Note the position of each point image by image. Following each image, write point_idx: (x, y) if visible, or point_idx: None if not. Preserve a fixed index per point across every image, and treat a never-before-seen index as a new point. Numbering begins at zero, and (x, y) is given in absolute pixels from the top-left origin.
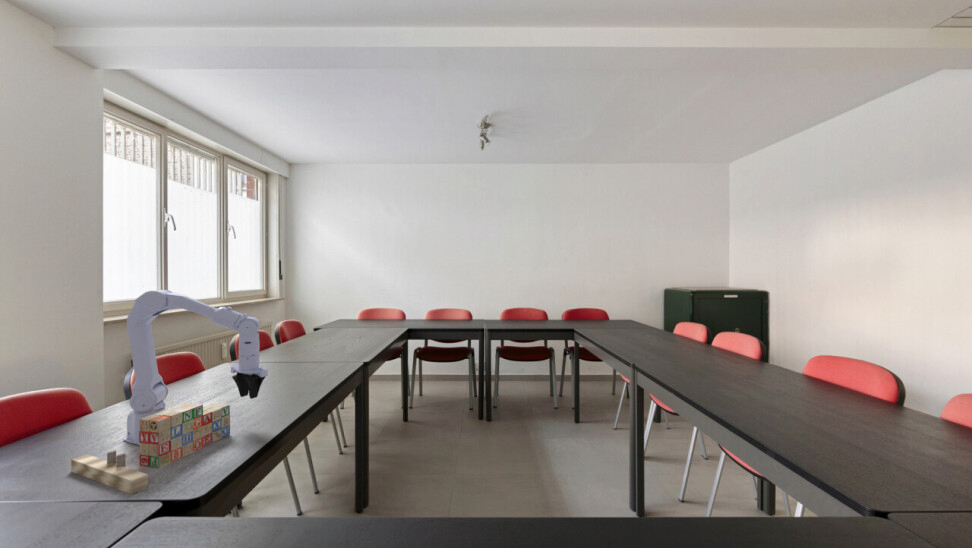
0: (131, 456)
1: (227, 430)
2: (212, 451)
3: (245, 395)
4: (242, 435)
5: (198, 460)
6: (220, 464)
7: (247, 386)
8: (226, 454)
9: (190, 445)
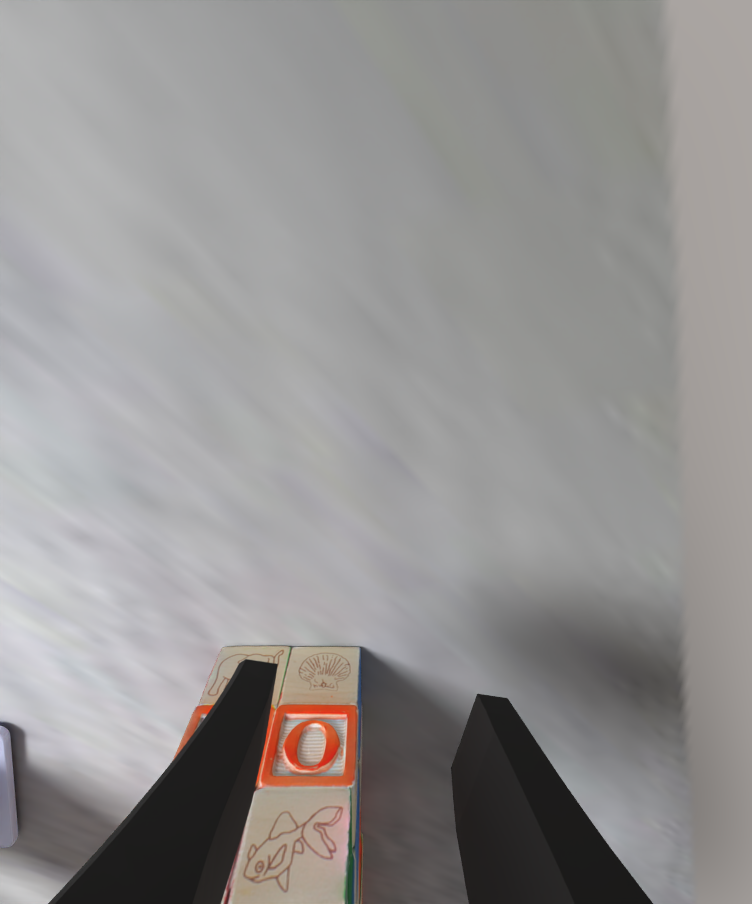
0: None
1: (359, 690)
2: None
3: (271, 703)
4: (459, 640)
5: None
6: None
7: (223, 834)
8: None
9: (361, 892)
